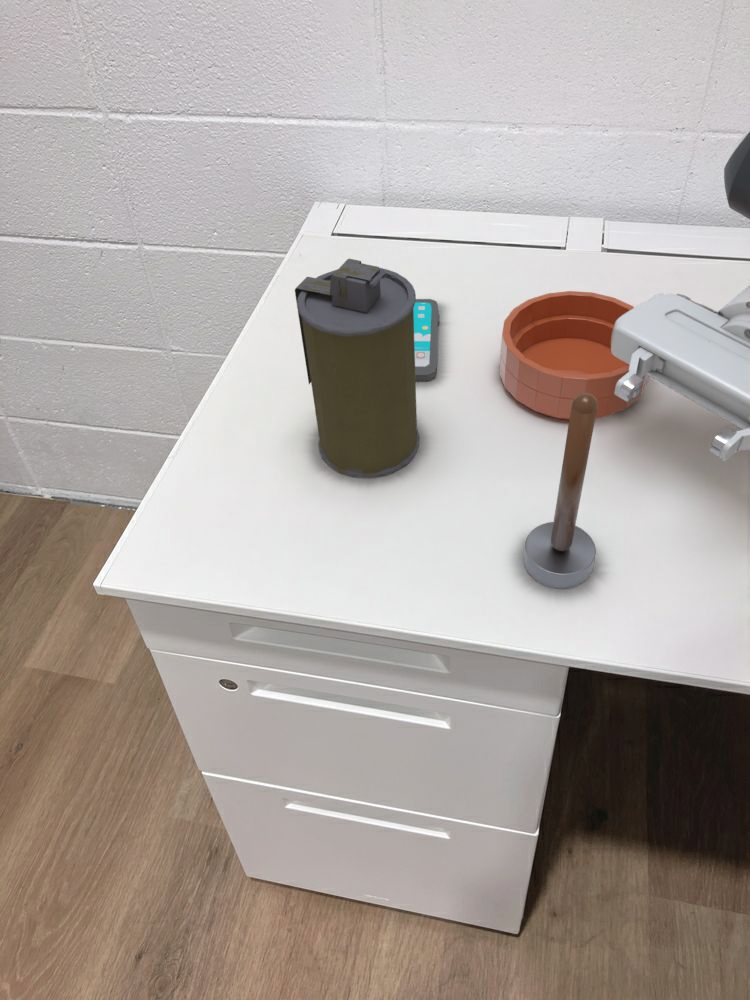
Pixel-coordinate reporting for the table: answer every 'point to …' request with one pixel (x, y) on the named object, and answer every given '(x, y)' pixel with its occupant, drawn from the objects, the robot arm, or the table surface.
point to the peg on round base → (566, 511)
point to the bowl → (564, 353)
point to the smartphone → (425, 338)
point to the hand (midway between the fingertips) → (668, 421)
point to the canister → (361, 366)
